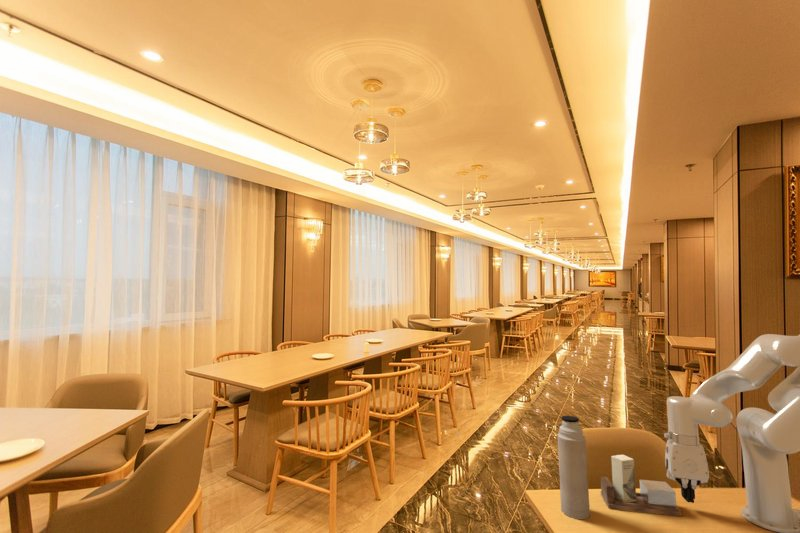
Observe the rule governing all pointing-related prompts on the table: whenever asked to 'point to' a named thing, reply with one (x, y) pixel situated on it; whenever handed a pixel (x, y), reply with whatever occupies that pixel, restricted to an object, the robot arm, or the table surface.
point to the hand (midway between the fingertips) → (688, 500)
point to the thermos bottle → (573, 469)
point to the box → (623, 478)
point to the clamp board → (637, 506)
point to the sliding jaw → (657, 493)
